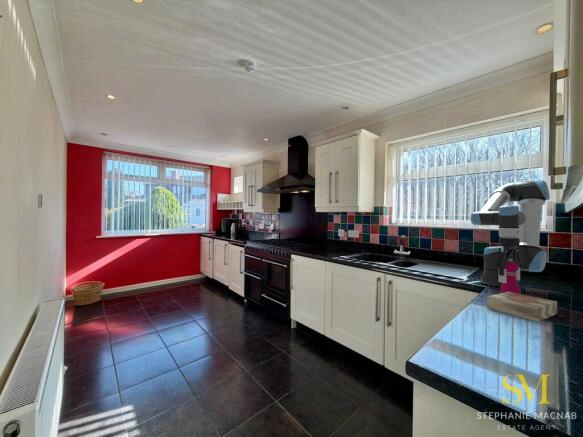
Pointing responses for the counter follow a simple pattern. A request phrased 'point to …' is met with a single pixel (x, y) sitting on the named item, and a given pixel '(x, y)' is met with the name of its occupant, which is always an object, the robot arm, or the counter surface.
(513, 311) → the birch stand
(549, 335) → the counter surface
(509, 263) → the pepper mill
